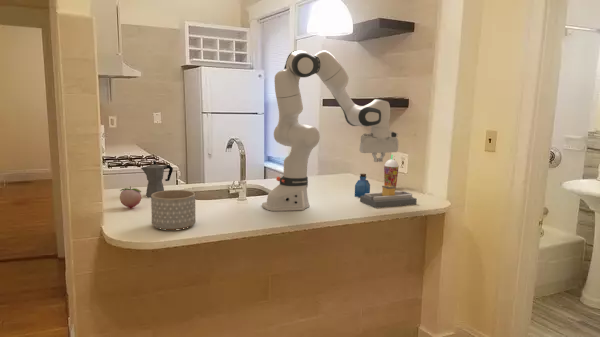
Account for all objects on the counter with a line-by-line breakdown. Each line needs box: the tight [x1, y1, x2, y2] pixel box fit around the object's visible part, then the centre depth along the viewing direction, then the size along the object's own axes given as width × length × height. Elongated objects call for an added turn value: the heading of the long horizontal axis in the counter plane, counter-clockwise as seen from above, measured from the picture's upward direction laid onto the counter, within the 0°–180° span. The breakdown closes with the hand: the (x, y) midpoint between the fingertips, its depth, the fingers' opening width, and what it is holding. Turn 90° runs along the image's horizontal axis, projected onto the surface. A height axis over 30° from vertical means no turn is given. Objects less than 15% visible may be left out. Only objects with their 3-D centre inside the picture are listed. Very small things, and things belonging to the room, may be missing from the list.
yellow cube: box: [381, 185, 397, 196], centre depth 221 cm, size 4×5×5 cm
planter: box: [150, 189, 197, 231], centre depth 173 cm, size 16×16×13 cm
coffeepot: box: [140, 160, 174, 198], centre depth 224 cm, size 15×9×18 cm, turn 116°
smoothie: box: [383, 154, 400, 188], centre depth 258 cm, size 8×8×20 cm
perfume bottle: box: [354, 173, 371, 198], centre depth 236 cm, size 6×6×12 cm
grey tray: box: [359, 190, 417, 209], centre depth 222 cm, size 24×14×5 cm, turn 114°
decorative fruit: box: [119, 185, 142, 209], centre depth 198 cm, size 9×8×10 cm
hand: (378, 161), depth 216 cm, fingers closed
